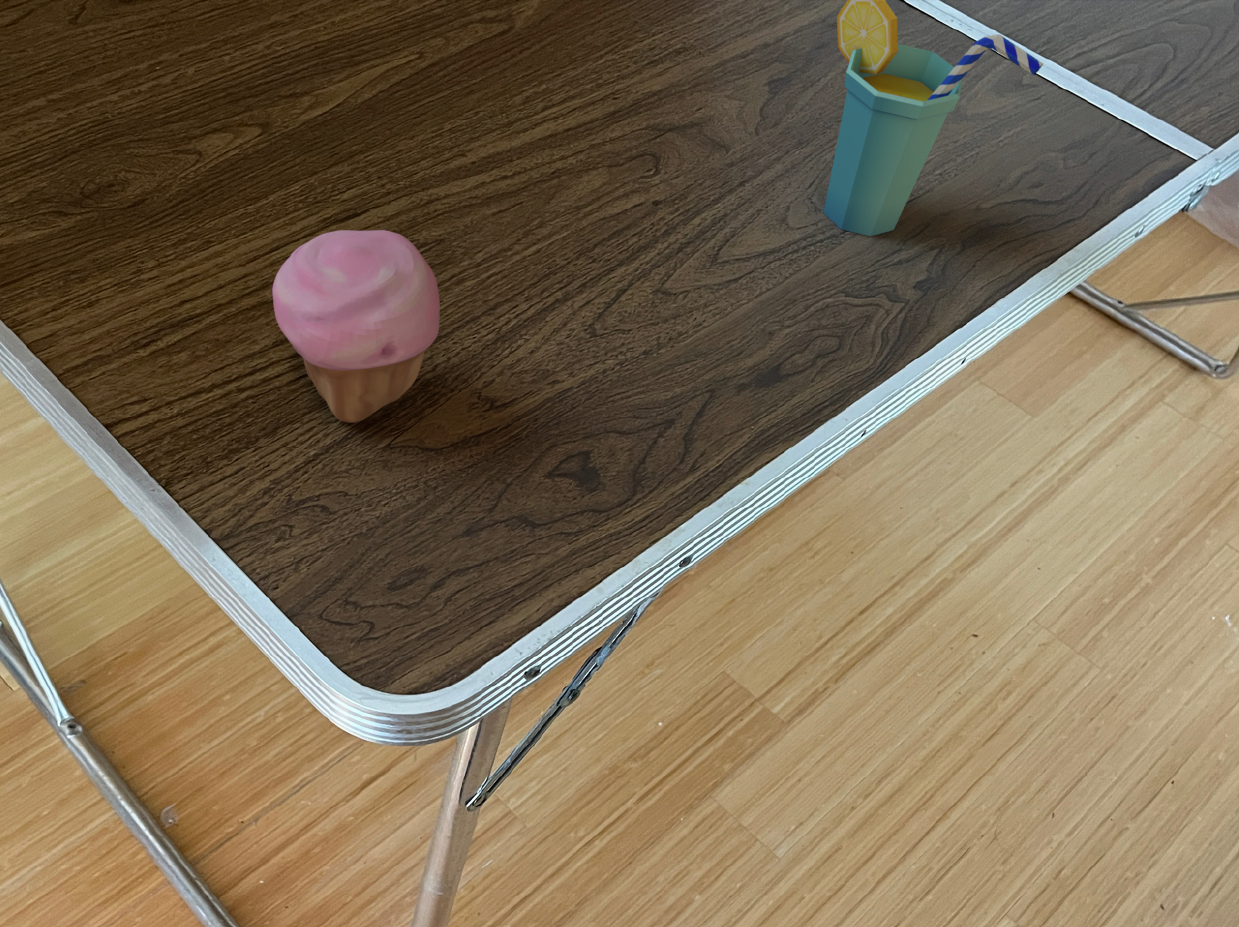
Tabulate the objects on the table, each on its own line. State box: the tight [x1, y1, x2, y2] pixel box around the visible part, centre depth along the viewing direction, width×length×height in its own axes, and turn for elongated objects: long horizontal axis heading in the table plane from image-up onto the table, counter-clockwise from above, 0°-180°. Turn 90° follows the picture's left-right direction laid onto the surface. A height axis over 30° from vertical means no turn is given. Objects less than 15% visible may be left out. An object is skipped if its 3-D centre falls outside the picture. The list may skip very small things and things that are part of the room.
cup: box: [823, 0, 1044, 237], centre depth 81 cm, size 14×8×15 cm, turn 50°
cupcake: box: [271, 229, 441, 424], centre depth 67 cm, size 9×9×10 cm
